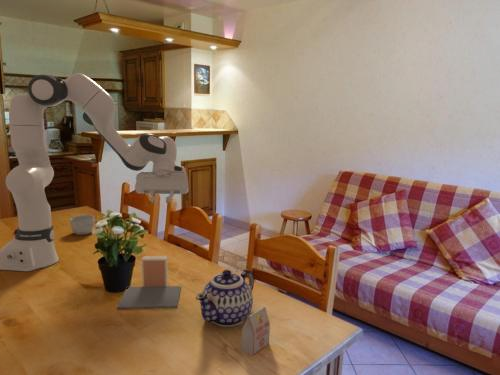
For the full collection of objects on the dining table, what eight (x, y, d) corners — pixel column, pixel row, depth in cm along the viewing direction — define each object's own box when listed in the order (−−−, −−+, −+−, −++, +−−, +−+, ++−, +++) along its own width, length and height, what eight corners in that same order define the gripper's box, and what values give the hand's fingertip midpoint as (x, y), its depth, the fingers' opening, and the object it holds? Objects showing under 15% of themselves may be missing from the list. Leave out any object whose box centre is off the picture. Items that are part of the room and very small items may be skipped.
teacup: (89, 236, 185) (88, 220, 183) (66, 236, 185) (65, 219, 183) (100, 228, 199) (100, 212, 197) (79, 227, 199) (78, 212, 197)
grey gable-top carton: (241, 350, 100) (242, 313, 98) (258, 338, 105) (259, 304, 103) (252, 356, 98) (253, 319, 96) (269, 344, 103) (270, 309, 101)
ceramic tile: (142, 287, 134) (141, 259, 132) (144, 283, 137) (143, 256, 135) (166, 287, 135) (166, 259, 133) (167, 283, 138) (167, 256, 136)
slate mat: (117, 308, 119) (116, 307, 119) (127, 288, 133) (127, 286, 133) (177, 307, 121) (177, 306, 120) (181, 287, 134) (181, 286, 134)
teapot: (235, 296, 130) (236, 253, 127) (272, 311, 121) (274, 265, 118) (176, 325, 111) (176, 276, 108) (215, 346, 101) (216, 292, 99)
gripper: (135, 167, 152) (131, 197, 145) (189, 167, 154) (187, 197, 146) (138, 176, 158) (134, 206, 150) (189, 177, 159) (188, 206, 152)
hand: (160, 202), depth 148 cm, fingers open, 4 cm apart
